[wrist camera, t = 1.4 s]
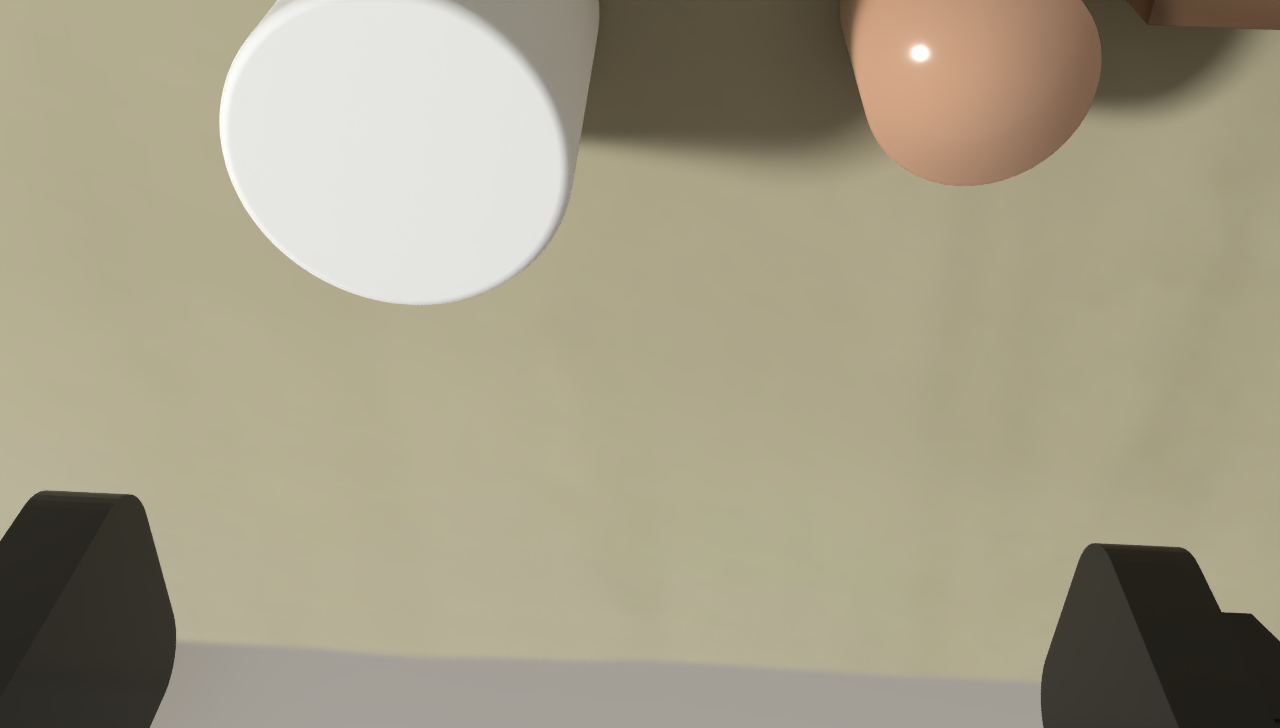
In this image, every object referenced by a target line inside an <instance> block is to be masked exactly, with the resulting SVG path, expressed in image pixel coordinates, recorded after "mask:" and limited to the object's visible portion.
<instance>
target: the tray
mask: <svg viewBox="0 0 1280 728" xmlns="http://www.w3.org/2000/svg"><path fill="white" fill-rule="evenodd" d="M1127 1H1128V2H1129V3H1130V4H1131V5H1132V7H1133V8H1134V9H1135V10H1136V11H1137V12H1138V14H1139V15H1140V16H1141V17H1142V18H1143V20H1144V21H1145V22H1146V23H1147V24H1148V25H1169V26H1194V27H1219V28H1244V29H1269V30H1280V0H1127Z"/></svg>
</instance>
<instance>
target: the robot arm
mask: <svg viewBox="0 0 1280 728" xmlns="http://www.w3.org/2000/svg"><path fill="white" fill-rule="evenodd" d="M175 649H176V627H175V619H174V614H173V611H172V607H171V603H170V600H169V596H168V592H167V589H166V585H165V581H164V578H163V574H162V570H161V567H160V563H159V559H158V555H157V552H156V548H155V544H154V541H153V537H152V533H151V530H150V526H149V522H148V519H147V515H146V512H145V509H144V507H143V505H142V503H141V501H140V500H139V499H138V498H137V497H135V496H134V495H129V494H109V493H88V492H67V491H41V492H39V493H37V494H35V495H34V496H33V497H32V498H30V499H29V500H28V502H27V503H26V504H25V506H24V507H23V508H22V510H21V511H20V513H19V514H18V516H17V517H16V519H15V520H14V522H13V523H12V525H11V526H10V528H9V529H8V531H7V532H6V534H5V535H4V537H3V538H2V540H1V541H0V728H150V726H151V723H152V721H153V719H154V717H155V714H156V712H157V710H158V708H159V705H160V703H161V701H162V699H163V697H164V694H165V692H166V689H167V687H168V684H169V680H170V677H171V673H172V669H173V663H174V658H175ZM1041 711H1042V720H1043V726H1044V728H1280V641H1279V640H1278V639H1277V638H1276V637H1275V636H1274V635H1273V634H1272V633H1271V632H1269V631H1268V630H1267V629H1266V628H1265V627H1264V626H1263V625H1262V624H1261V623H1260V622H1259V621H1258V620H1257V619H1256V618H1255V617H1254V616H1253V615H1252V614H1246V613H1225V612H1221V610H1220V608H1219V606H1218V604H1217V602H1216V600H1215V598H1214V596H1213V594H1212V592H1211V590H1210V588H1209V585H1208V583H1207V581H1206V579H1205V577H1204V575H1203V573H1202V571H1201V569H1200V567H1199V565H1198V563H1197V562H1196V560H1195V558H1194V557H1193V556H1192V554H1191V553H1190V552H1188V551H1187V550H1186V549H1184V548H1181V547H1163V546H1141V545H1120V544H1099V543H1094V544H1090V545H1088V546H1087V547H1086V548H1085V550H1084V551H1083V553H1082V555H1081V557H1080V559H1079V562H1078V565H1077V568H1076V571H1075V574H1074V577H1073V580H1072V583H1071V586H1070V589H1069V592H1068V595H1067V598H1066V601H1065V604H1064V607H1063V609H1062V612H1061V615H1060V618H1059V621H1058V624H1057V627H1056V630H1055V633H1054V636H1053V639H1052V642H1051V645H1050V648H1049V651H1048V654H1047V657H1046V660H1045V664H1044V668H1043V674H1042V682H1041Z"/></svg>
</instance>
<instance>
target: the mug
mask: <svg viewBox="0 0 1280 728" xmlns="http://www.w3.org/2000/svg"><path fill="white" fill-rule="evenodd" d="M598 28H599V0H277V1H276V3H275V4H274V5H273V6H272V8H271V9H270V10H269V11H268V13H267V14H266V15H265V16H264V18H263V19H262V20H261V21H260V23H259V24H258V25H257V26H256V28H255V29H254V30H253V31H252V33H251V34H250V35H249V36H248V38H247V39H246V41H245V42H244V44H243V45H242V47H241V48H240V49H239V51H238V53H237V55H236V57H235V59H234V61H233V63H232V65H231V67H230V70H229V72H228V75H227V77H226V81H225V85H224V88H223V93H222V99H221V105H220V121H219V122H220V138H221V145H222V151H223V155H224V159H225V164H226V167H227V170H228V173H229V176H230V179H231V181H232V183H233V186H234V188H235V190H236V192H237V194H238V196H239V198H240V200H241V202H242V203H243V205H244V207H245V209H246V210H247V212H248V213H249V215H250V216H251V218H252V219H253V220H254V222H255V223H256V224H257V226H258V227H259V228H260V229H261V231H262V232H263V233H264V234H265V235H266V236H267V237H268V238H269V239H270V241H271V242H272V243H273V244H274V245H275V246H276V247H278V248H279V249H280V250H281V251H282V252H283V253H284V254H285V255H286V256H288V257H289V258H290V259H291V260H293V261H294V262H295V263H296V264H298V265H299V266H301V267H302V268H304V269H305V270H307V271H308V272H310V273H311V274H313V275H315V276H316V277H318V278H320V279H322V280H323V281H325V282H327V283H329V284H332V285H334V286H336V287H338V288H340V289H343V290H345V291H348V292H350V293H353V294H356V295H359V296H363V297H366V298H370V299H374V300H378V301H383V302H389V303H396V304H407V305H431V304H442V303H449V302H455V301H459V300H464V299H468V298H471V297H474V296H477V295H480V294H483V293H485V292H488V291H490V290H492V289H494V288H496V287H498V286H500V285H502V284H504V283H506V282H507V281H509V280H510V279H512V278H513V277H515V276H516V275H518V274H519V273H520V272H522V271H523V270H524V269H525V268H527V267H528V266H529V265H530V264H531V263H532V262H533V261H534V260H535V259H536V258H537V257H538V256H539V255H540V254H541V252H542V251H543V250H544V249H545V248H546V246H547V245H548V243H549V242H550V241H551V239H552V238H553V236H554V235H555V233H556V231H557V229H558V227H559V225H560V224H561V221H562V219H563V216H564V214H565V212H566V209H567V206H568V203H569V199H570V195H571V190H572V185H573V179H574V173H575V167H576V161H577V155H578V149H579V143H580V137H581V131H582V125H583V119H584V113H585V108H586V102H587V96H588V90H589V84H590V78H591V72H592V66H593V60H594V54H595V48H596V42H597V36H598Z"/></svg>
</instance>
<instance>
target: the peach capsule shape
mask: <svg viewBox="0 0 1280 728" xmlns="http://www.w3.org/2000/svg"><path fill="white" fill-rule="evenodd" d="M840 20H841V26H842V31H843V35H844V39H845V42H846V46H847V50H848V53H849V57H850V60H851V64H852V67H853V71H854V74H855V78H856V82H857V85H858V89H859V92H860V96H861V99H862V103H863V106H864V110H865V113H866V117H867V120H868V123H869V125H870V128H871V131H872V133H873V135H874V136H875V138H876V140H877V142H878V143H879V145H880V146H881V147H882V149H883V150H884V151H885V152H886V154H887V155H888V156H890V157H891V158H892V159H893V160H894V161H895V162H896V163H897V164H899V165H900V166H901V167H903V168H904V169H905V170H907V171H909V172H911V173H913V174H915V175H917V176H918V177H921V178H924V179H927V180H929V181H932V182H937V183H941V184H946V185H956V186H975V185H982V184H989V183H993V182H998V181H1002V180H1005V179H1008V178H1010V177H1013V176H1016V175H1019V174H1021V173H1023V172H1025V171H1027V170H1029V169H1031V168H1033V167H1034V166H1036V165H1037V164H1039V163H1041V162H1042V161H1044V160H1045V159H1047V158H1048V157H1049V156H1050V155H1052V154H1053V153H1054V152H1055V151H1057V150H1058V149H1059V148H1060V147H1061V146H1062V145H1063V144H1064V143H1065V142H1066V141H1067V140H1068V139H1069V138H1070V137H1071V135H1072V134H1073V133H1074V132H1075V131H1076V129H1077V128H1078V127H1079V125H1080V124H1081V122H1082V121H1083V119H1084V117H1085V116H1086V114H1087V112H1088V110H1089V108H1090V106H1091V104H1092V102H1093V100H1094V97H1095V94H1096V91H1097V88H1098V84H1099V79H1100V74H1101V64H1102V53H1101V42H1100V38H1099V34H1098V30H1097V27H1096V25H1095V22H1094V20H1093V17H1092V15H1091V14H1090V12H1089V10H1088V9H1087V7H1086V6H1085V4H1084V3H1083V1H1082V0H840Z"/></svg>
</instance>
